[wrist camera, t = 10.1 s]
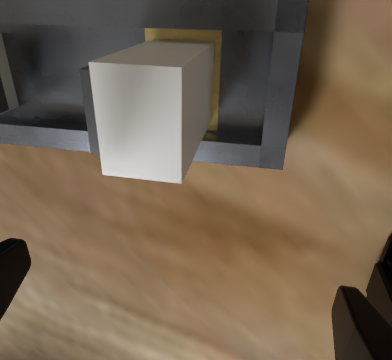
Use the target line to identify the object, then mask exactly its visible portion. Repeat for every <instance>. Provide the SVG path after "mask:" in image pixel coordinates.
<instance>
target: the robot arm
mask: <svg viewBox="0 0 392 360" xmlns="http://www.w3.org/2000/svg"><path fill="white" fill-rule="evenodd" d="M30 266H31V258H30V255H29V251H28V248H27V244H26V242H25V241H24V240H22V239H16V238H9V239H7V240H4V241H2V242H0V320H1V318H2V317H3V315H4V314H5V312H6V310H7V308H8V307H9V305H10V303H11V301H12V300H13V298H14V296H15V294H16V292H17V290H18V289H19V287H20V285H21V283H22V281H23V280H24V278H25V276H26V274H27V272H28V271H29V269H30ZM366 293H367V297H365V296H364V295H363V294H362V293H361V292H360V291H359V290H358V289H357V288H355V287H349V286H339V288H338V290H337V293H336V297H335V300H334V303H333V307H332V326H333V338H334V349H335V360H392V235H391V236H389V238H388V239H387V242H386V245H385V248H384V250H383V253H382V256H381V259H380V261H378V262H377V263H376V264H375V266H374V269H373V272H372V275H371V278H370V280H369V283H368V286H367V289H366Z"/></svg>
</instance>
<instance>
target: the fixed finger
mask: <svg viewBox="0 0 392 360" xmlns="http://www.w3.org/2000/svg"><path fill="white" fill-rule="evenodd" d="M17 107H19V104H18V100H17V96H16V92H15V87H14V83H13V79H12V75H11V71H10V67H9V63H8V59H7V55H6V50H5V46H4V42H3V38H2V34H1V33H0V115H1V114H3V113H5V112H8V111H10V110H12V109H15V108H17Z"/></svg>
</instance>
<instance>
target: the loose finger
mask: <svg viewBox="0 0 392 360" xmlns="http://www.w3.org/2000/svg"><path fill="white" fill-rule="evenodd" d="M213 56H214V42H210V41H188V40H167V39H152V40H150V41H147V42H144V43H141V44H138V45H135V46H133V47H130V48H127V49H124V50H121V51H118V52H115V53H113V54H110V55H107V56H104V57H101V58H98V59H96V60H93V61H90V62H88V63H89V66H86V67H83V68H81V69H79V73H80V80H81V87H82V94H83V101H84V108H85V116H86V123H87V130H88V137H89V144H90V151H91V154H94V155H100V158H101V166H102V174H103V175H109V176H118V177H127V178H136V179H144V180H153V181H162V182H171V183H180V184H181V183H182V181H183V179H184V177H185V175H186V173H187V171H188V169H189V166H190V164H191V162H192V160H193V158H194V156H195V154H196V152H197V149H198V147H199V145H200V143H201V141H202V139H203V137H204V134H205V132H206V130H207V128H208V126H209V124H210V122H211V100H212V78H213Z"/></svg>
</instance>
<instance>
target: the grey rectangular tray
mask: <svg viewBox="0 0 392 360" xmlns="http://www.w3.org/2000/svg"><path fill="white" fill-rule="evenodd" d="M308 2H309V0H0V33H1V34H2V38H3V42H4V46H5V50H6V55H7V59H8V63H9V67H10V71H11V75H12V79H13V83H14V87H15V92H16V96H17V100H18V104H19V107H17V108H15V109H12V110H10V111H8V112H5V113H3V114H1V115H0V143H3V144H14V145H24V146H35V147H46V148H56V149H67V150H78V151H88V152H91V151H90V144H89V137H88V130H87V123H86V116H85V108H84V101H83V94H82V87H81V80H80V73H79V69H81V68H83V67H86V66H89V63H88V62H90V61H93V60H96V59H98V58H101V57H104V56H107V55H110V54H113V53H115V52H118V51H121V50H124V49H127V48H130V47H133V46H135V45H138V44H141V43H144V42H147V41H150V40H152V39H167V40H188V41H210V42H214V56H213V78H212V100H211V122H210V124H209V126H208V128H207V130H206V132H205V134H204V137H203V139H202V141H201V143H200V145H199V147H198V149H197V152H196V154H195V156H194V158H193V160H192V161H194V162H205V163H216V164H226V165H237V166H248V167H258V168H269V169H279V170H283V164H284V157H285V151H286V145H287V138H288V132H289V125H290V119H291V112H292V106H293V99H294V93H295V86H296V80H297V73H298V67H299V60H300V54H301V47H302V41H303V34H304V28H305V21H306V15H307V8H308Z"/></svg>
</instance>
